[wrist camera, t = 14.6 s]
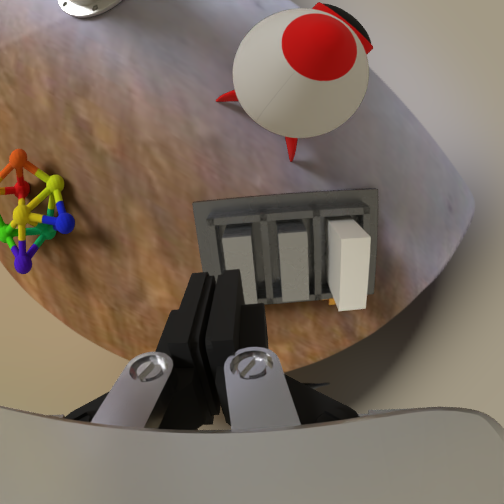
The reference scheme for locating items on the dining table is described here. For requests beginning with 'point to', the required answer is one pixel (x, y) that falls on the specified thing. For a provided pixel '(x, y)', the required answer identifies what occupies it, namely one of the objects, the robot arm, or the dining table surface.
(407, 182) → the dining table surface
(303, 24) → the rocket
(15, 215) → the decorative model
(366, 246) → the block
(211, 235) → the rack
